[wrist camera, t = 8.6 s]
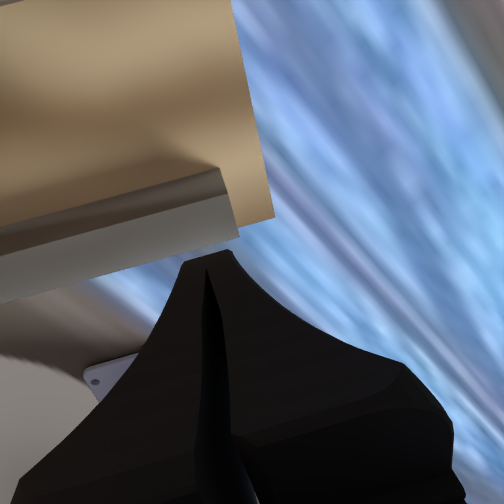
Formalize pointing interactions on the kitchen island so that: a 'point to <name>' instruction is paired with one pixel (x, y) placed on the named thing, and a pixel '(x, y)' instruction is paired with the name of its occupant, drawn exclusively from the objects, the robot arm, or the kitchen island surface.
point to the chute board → (121, 137)
